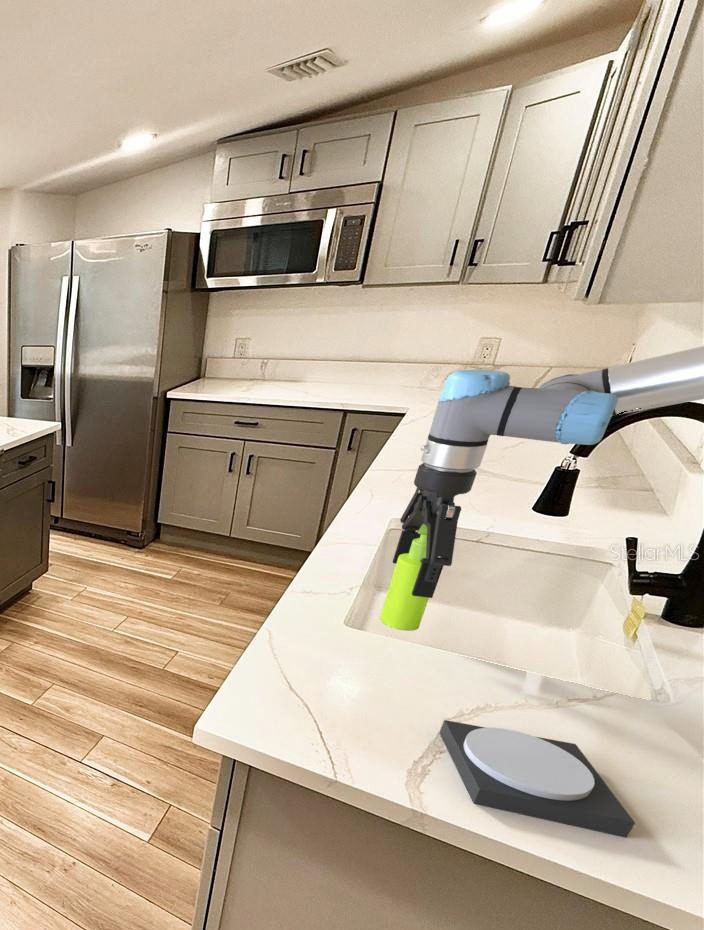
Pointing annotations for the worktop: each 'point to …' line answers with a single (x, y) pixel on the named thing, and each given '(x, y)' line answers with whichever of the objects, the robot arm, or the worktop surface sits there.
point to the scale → (533, 777)
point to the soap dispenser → (406, 589)
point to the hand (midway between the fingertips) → (411, 579)
